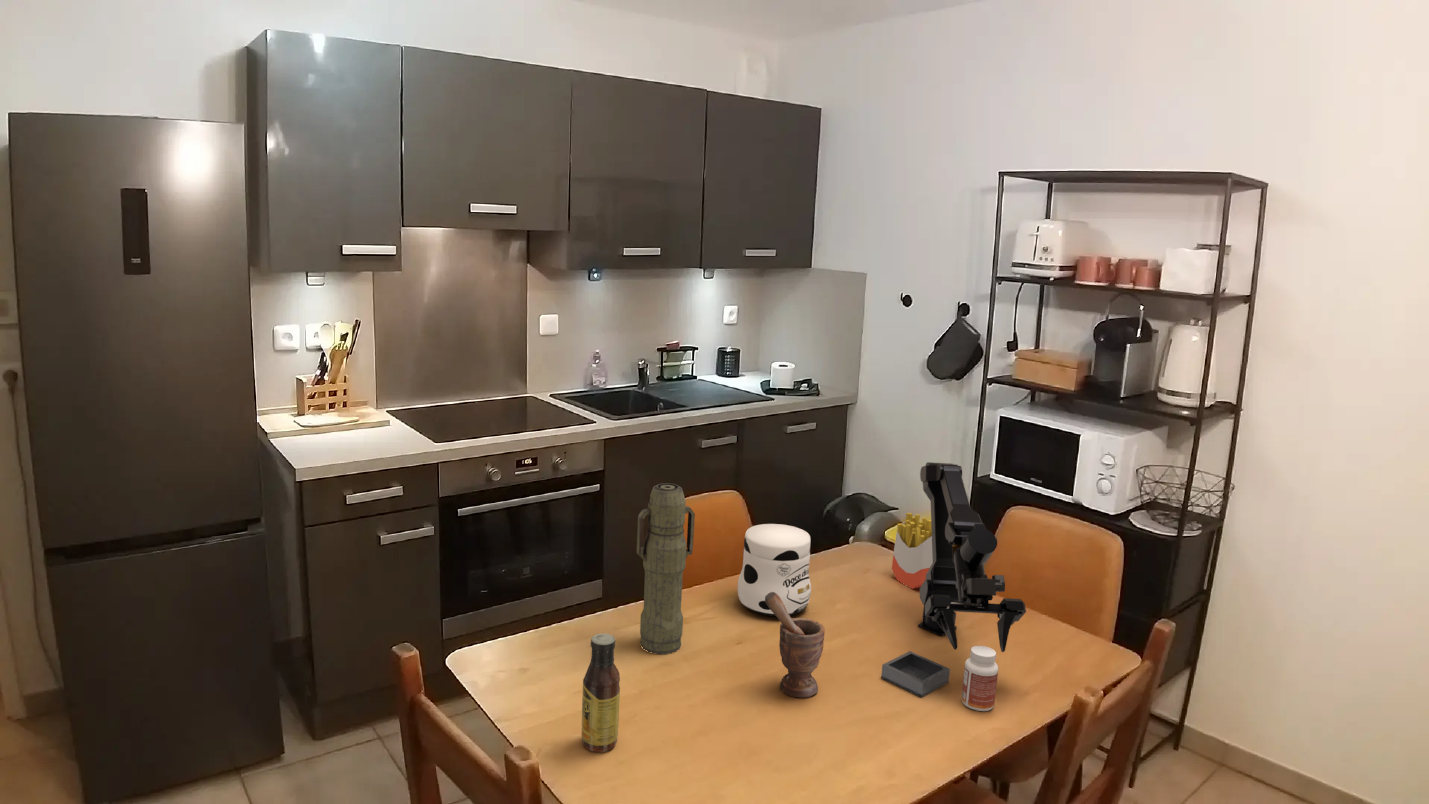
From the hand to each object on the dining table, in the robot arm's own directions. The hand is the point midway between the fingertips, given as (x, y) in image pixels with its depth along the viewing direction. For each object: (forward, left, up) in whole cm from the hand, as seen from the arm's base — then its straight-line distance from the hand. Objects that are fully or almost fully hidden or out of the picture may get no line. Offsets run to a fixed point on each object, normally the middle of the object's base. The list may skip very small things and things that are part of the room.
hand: (979, 650), depth 175 cm
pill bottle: (+2, -2, -10) cm, 11 cm away
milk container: (-53, -1, -10) cm, 54 cm away
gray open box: (-11, -4, -10) cm, 16 cm away
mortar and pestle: (-24, -27, -10) cm, 37 cm away
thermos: (-54, -35, -10) cm, 65 cm away
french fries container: (-41, +38, -10) cm, 57 cm away
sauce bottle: (-32, -67, -10) cm, 75 cm away
